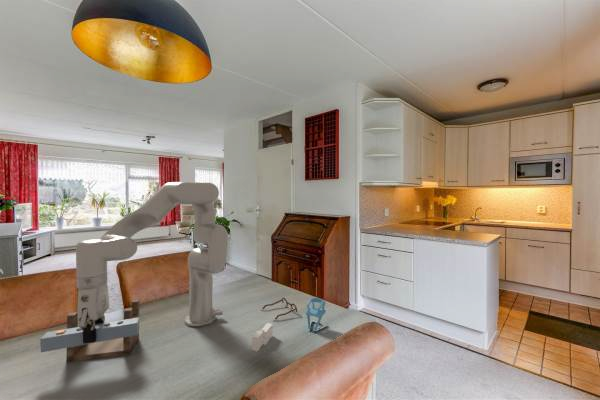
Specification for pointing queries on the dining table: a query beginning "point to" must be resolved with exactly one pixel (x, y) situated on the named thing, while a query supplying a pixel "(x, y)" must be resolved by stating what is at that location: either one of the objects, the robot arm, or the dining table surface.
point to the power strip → (75, 335)
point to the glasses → (282, 302)
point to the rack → (105, 347)
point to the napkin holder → (262, 336)
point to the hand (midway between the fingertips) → (93, 337)
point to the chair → (315, 311)
